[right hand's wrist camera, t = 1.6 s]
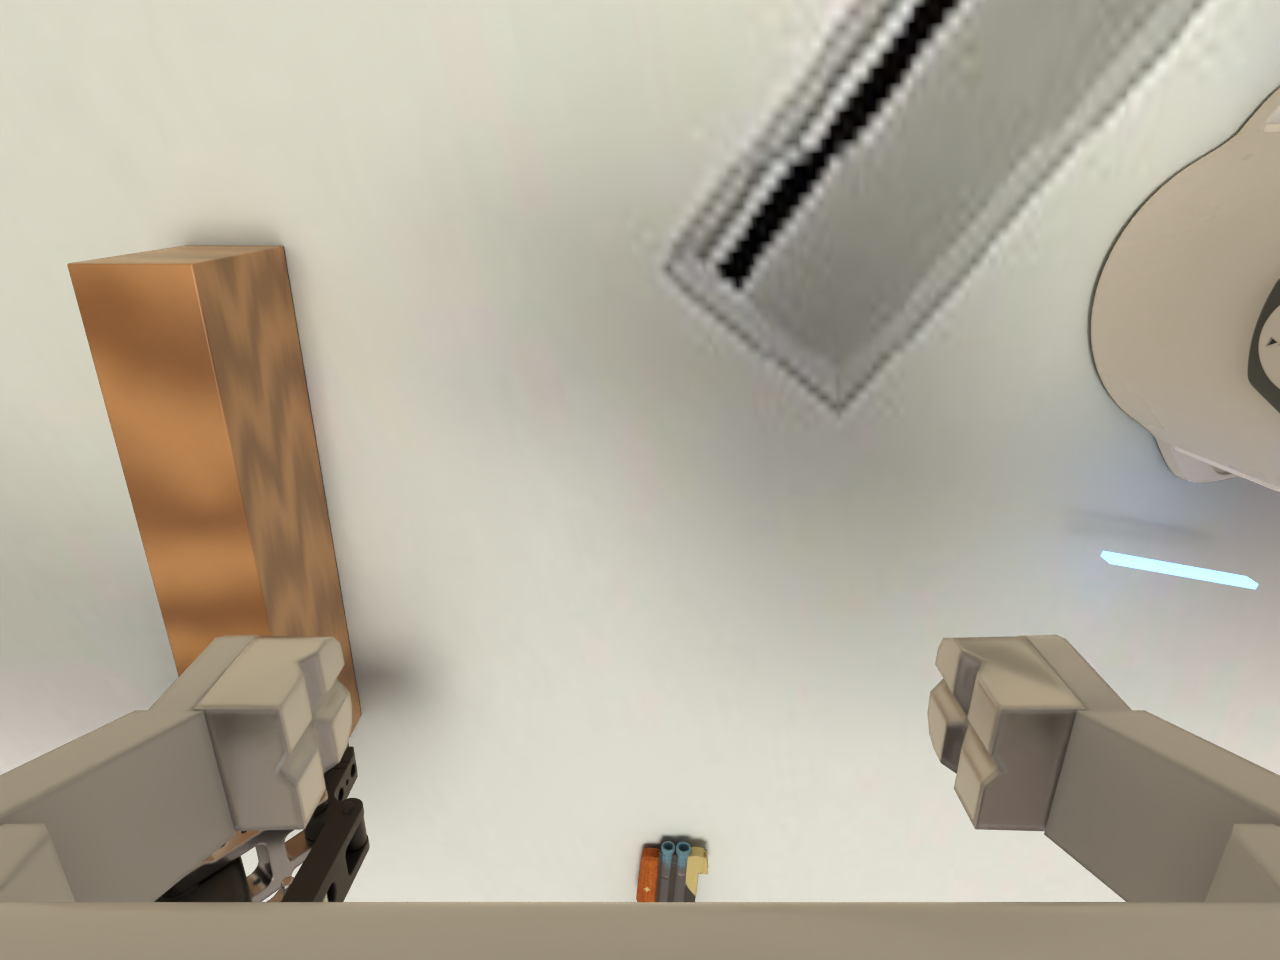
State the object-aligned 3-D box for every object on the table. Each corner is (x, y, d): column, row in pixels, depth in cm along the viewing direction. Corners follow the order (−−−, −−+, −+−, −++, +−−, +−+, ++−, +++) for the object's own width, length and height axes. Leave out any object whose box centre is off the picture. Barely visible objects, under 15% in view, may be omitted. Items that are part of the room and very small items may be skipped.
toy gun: (545, 1058, 54) (685, 1081, 53) (553, 844, 48) (709, 866, 47) (554, 1021, 57) (687, 1042, 56) (562, 814, 51) (710, 834, 50)
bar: (183, 245, 36) (65, 263, 28) (283, 245, 36) (192, 263, 29) (283, 714, 46) (216, 816, 39) (361, 715, 46) (309, 817, 39)
